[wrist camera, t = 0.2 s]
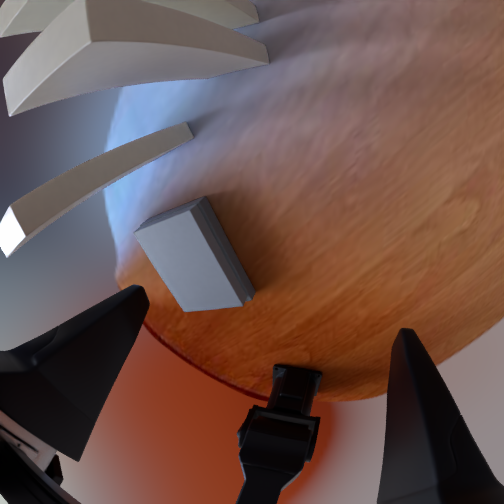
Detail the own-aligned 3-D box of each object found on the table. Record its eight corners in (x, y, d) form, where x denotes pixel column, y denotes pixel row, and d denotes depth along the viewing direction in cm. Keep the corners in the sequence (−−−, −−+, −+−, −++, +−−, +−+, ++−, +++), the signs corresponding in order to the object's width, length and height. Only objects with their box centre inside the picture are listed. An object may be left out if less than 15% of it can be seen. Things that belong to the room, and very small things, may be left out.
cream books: (270, 64, 16) (92, 41, 4) (207, 79, 18) (8, 117, 6) (255, 5, 14) (83, -83, 1) (194, 24, 16) (-1, 8, 3)
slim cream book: (194, 138, 21) (26, 236, 9) (153, 160, 24) (7, 258, 11) (186, 121, 21) (9, 204, 8) (145, 146, 23) (-6, 234, 10)
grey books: (256, 292, 29) (248, 309, 27) (196, 300, 32) (186, 315, 30) (205, 195, 24) (192, 208, 22) (146, 219, 28) (131, 232, 26)
